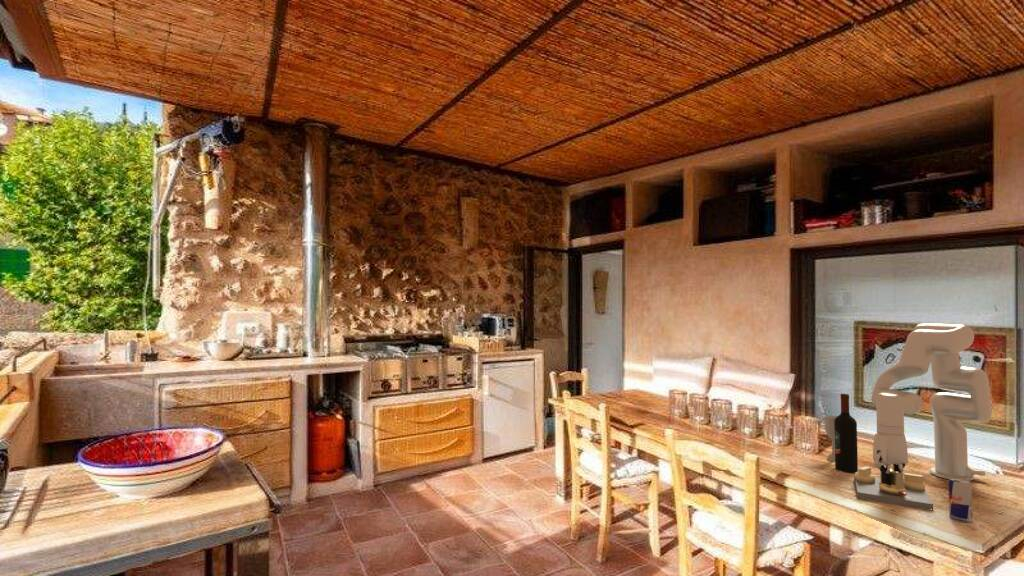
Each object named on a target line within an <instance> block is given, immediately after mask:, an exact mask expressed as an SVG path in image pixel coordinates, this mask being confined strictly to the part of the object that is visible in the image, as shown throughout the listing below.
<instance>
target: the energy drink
mask: <svg viewBox="0 0 1024 576" xmlns="http://www.w3.org/2000/svg"><path fill="white" fill-rule="evenodd" d="M947 483H948V504H949V505H948V509H949V510H948V511H949V512H948V514H949V517H950V519H952V520H953V519H954V520H953V521H956V522H960V523H964V522H965V523H964V524H970V523H973V520H974V517H973V516H974V515H973V513H974V512H973V487H972V486H973V485H972V482H971V481H969V480H966V479H962V478H955V477H951V478H949V479H948V482H947Z"/></svg>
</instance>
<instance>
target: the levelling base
mask: <svg viewBox="0 0 1024 576" xmlns="http://www.w3.org/2000/svg"><path fill="white" fill-rule="evenodd" d="M853 479H854V480H853V481H854V484H855V491H856V496H857V498H858V499H861V500H867V501H874V502H879V503H886V504H892V505H898V506H904V507H909V506H910V508H915V507H918V508H917V509H921V508H925V509H924V510H927V509H932V510H931V511H934V503H933V502H932V500H931V498H930V496H929V494H928V492H927V491H926V487H925V486H926V484H925V482H924V476H923V475H922V474H915V473H909V472H903V486H904V487H905V493H907V496H903V495H893V494H888V493H885V492H882V491H881V490H880V489H879V482H881V480H880V477H876V475H875V474H872V466H871V467H870V466H863V467H858V472H855V473H854V475H853Z"/></svg>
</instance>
